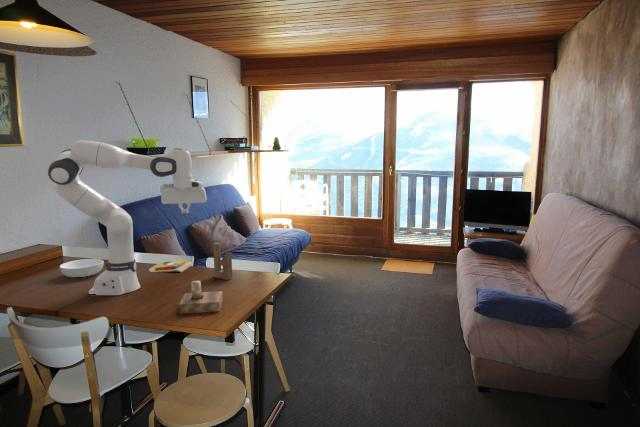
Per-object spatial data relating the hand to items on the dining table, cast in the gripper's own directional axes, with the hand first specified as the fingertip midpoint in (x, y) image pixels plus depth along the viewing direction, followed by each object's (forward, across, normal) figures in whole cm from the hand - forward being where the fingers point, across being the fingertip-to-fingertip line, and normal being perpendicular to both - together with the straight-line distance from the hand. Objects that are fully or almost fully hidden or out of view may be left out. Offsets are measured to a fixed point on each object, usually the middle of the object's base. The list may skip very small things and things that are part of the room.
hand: (185, 213), depth 205 cm
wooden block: (+37, +14, +16) cm, 43 cm away
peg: (+37, +7, -25) cm, 45 cm away
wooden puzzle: (+38, -17, +41) cm, 58 cm away
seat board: (+37, +9, -25) cm, 46 cm away
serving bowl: (+37, -62, +35) cm, 80 cm away
